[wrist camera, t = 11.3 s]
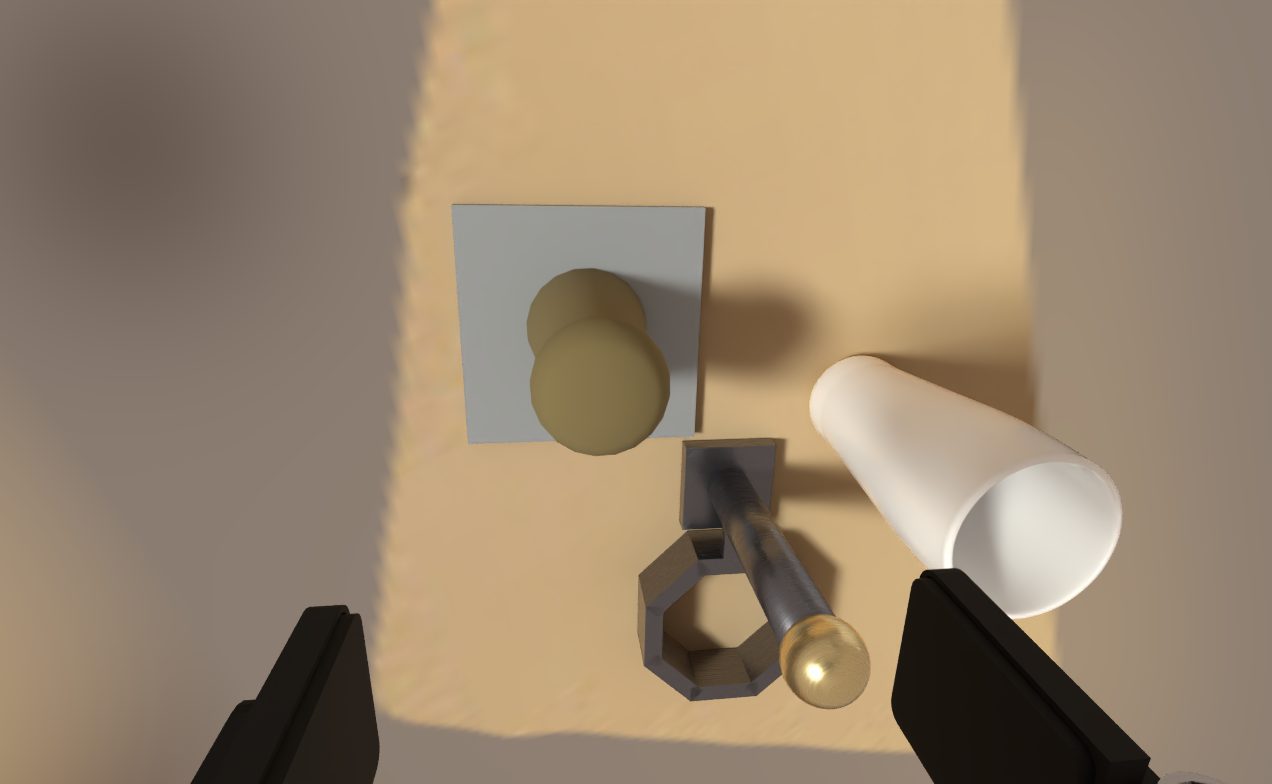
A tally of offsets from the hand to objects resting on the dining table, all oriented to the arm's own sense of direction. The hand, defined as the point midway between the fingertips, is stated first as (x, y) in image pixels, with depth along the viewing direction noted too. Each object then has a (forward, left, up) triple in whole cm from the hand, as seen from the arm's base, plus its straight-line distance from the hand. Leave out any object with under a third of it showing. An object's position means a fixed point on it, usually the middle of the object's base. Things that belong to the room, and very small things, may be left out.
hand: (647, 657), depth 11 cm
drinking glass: (+4, +15, -24) cm, 29 cm away
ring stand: (+14, +8, -24) cm, 29 cm away
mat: (0, 0, -24) cm, 24 cm away
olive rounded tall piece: (0, 0, -24) cm, 24 cm away
